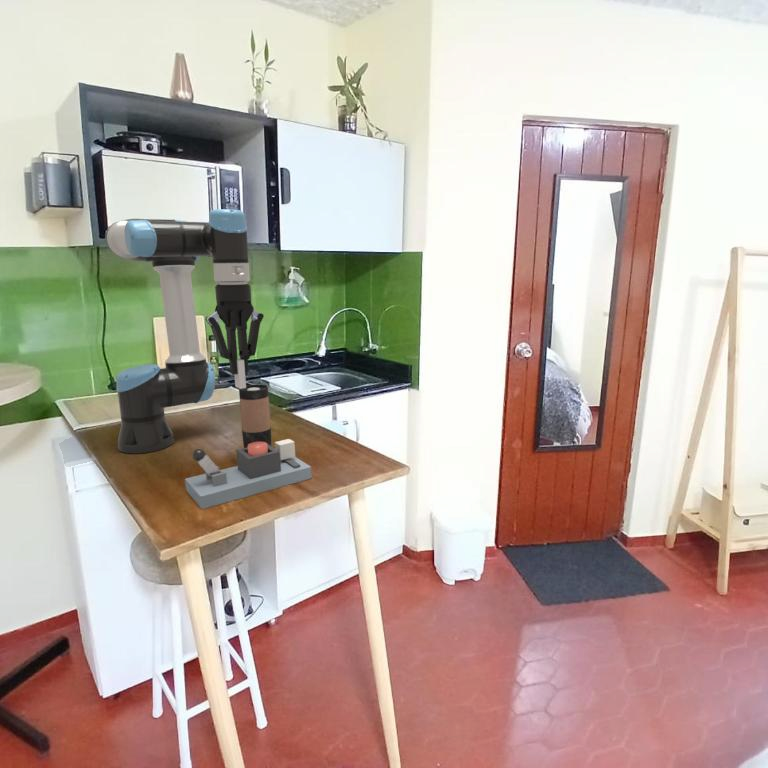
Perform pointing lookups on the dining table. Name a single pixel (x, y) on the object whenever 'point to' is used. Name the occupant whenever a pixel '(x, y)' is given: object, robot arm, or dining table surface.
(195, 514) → the dining table surface
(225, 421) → the dining table surface
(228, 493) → the panel
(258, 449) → the button
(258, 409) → the travel mug
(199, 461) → the lever
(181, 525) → the dining table surface
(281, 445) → the slider
